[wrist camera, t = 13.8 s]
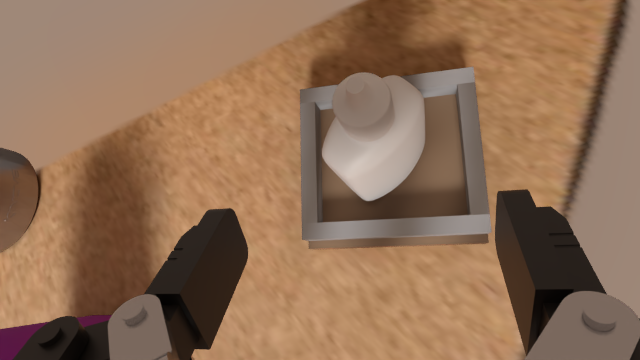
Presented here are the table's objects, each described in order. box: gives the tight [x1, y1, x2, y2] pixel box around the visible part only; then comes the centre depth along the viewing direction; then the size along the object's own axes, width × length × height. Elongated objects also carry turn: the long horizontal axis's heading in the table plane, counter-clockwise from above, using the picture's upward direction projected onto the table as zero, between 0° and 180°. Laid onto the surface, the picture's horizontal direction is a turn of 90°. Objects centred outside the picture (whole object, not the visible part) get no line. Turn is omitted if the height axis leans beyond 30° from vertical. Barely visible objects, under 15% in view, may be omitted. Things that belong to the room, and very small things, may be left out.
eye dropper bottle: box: [322, 72, 425, 201], centre depth 21 cm, size 4×6×12 cm
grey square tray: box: [300, 67, 491, 249], centre depth 26 cm, size 11×11×3 cm
